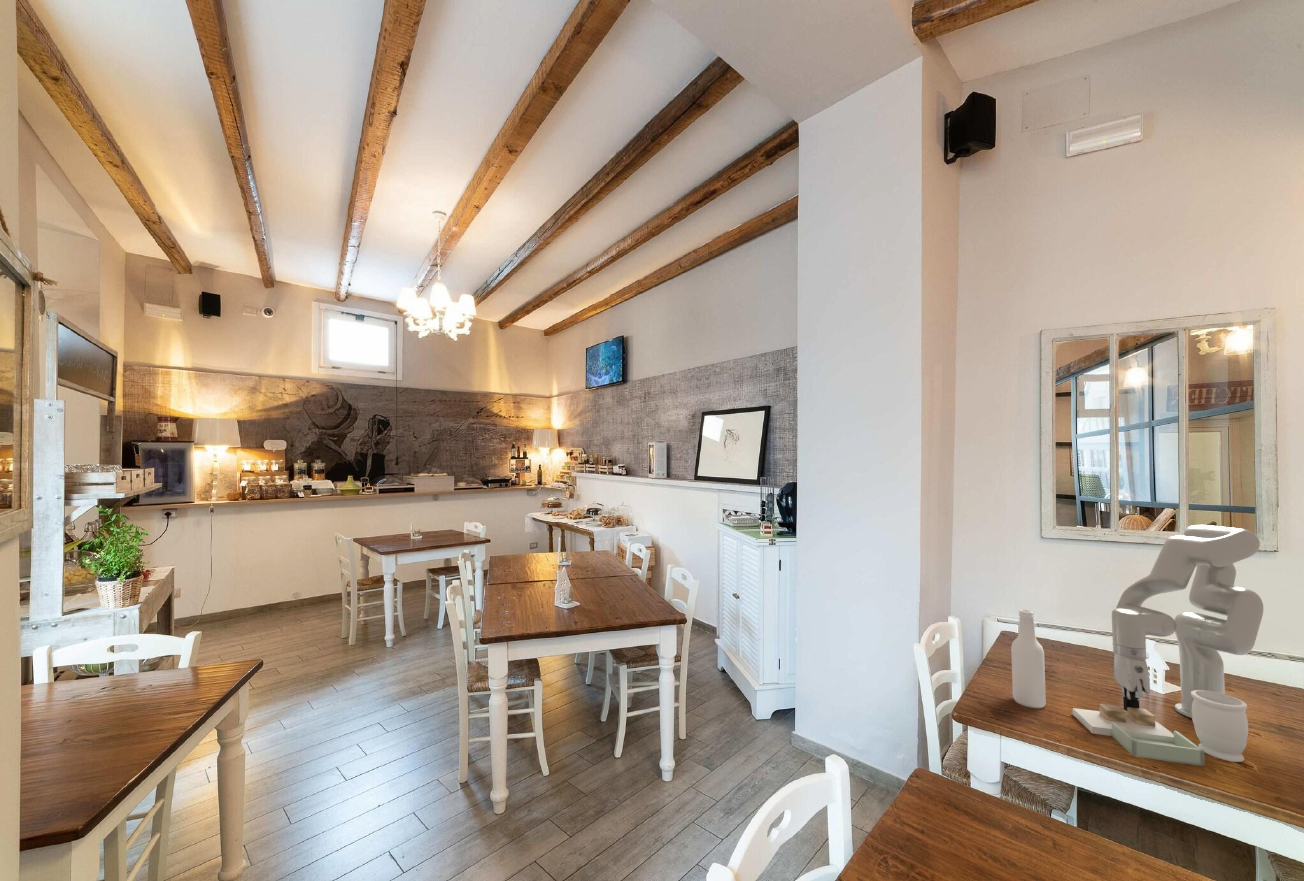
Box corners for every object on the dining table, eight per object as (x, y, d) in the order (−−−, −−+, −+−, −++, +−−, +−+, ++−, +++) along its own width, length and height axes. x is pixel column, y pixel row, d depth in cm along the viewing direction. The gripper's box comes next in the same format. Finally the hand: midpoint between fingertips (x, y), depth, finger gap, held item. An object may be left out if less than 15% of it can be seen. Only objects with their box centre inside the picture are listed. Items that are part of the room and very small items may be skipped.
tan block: (1117, 715, 156) (1117, 705, 156) (1126, 722, 152) (1125, 712, 152) (1099, 713, 157) (1099, 703, 157) (1107, 720, 153) (1107, 710, 153)
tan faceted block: (1146, 719, 154) (1145, 709, 154) (1155, 726, 149) (1155, 716, 150) (1127, 717, 155) (1127, 707, 155) (1136, 724, 151) (1135, 713, 151)
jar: (1258, 770, 132) (1255, 710, 132) (1201, 757, 137) (1198, 700, 138) (1239, 750, 141) (1236, 695, 141) (1187, 739, 146) (1184, 686, 147)
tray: (1177, 745, 143) (1177, 731, 143) (1204, 766, 133) (1204, 750, 133) (1112, 736, 147) (1111, 722, 148) (1133, 756, 138) (1132, 741, 138)
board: (1152, 724, 155) (1151, 717, 155) (1178, 745, 143) (1178, 737, 143) (1072, 714, 161) (1072, 708, 161) (1092, 733, 149) (1092, 726, 149)
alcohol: (1047, 702, 169) (1044, 610, 170) (1044, 712, 162) (1041, 616, 164) (1015, 694, 175) (1012, 605, 176) (1010, 703, 168) (1008, 611, 170)
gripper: (1159, 661, 149) (1162, 725, 148) (1130, 644, 164) (1132, 702, 163) (1127, 657, 152) (1130, 721, 151) (1101, 641, 166) (1103, 699, 165)
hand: (1131, 711), depth 157 cm, fingers closed
